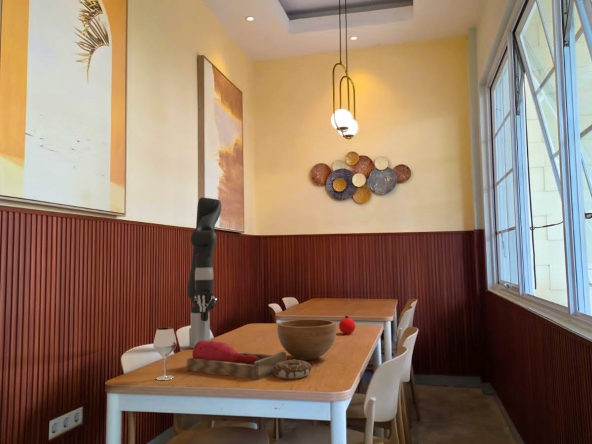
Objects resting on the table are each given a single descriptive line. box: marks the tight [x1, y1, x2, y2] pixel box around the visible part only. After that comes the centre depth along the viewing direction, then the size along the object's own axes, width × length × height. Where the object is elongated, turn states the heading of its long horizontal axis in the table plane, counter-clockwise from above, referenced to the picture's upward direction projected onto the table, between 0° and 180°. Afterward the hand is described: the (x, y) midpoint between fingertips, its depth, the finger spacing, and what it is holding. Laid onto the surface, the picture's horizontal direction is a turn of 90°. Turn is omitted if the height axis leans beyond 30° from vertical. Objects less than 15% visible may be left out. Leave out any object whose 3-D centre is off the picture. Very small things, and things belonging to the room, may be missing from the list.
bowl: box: [277, 318, 337, 361], centre depth 196 cm, size 25×25×15 cm
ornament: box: [338, 315, 356, 335], centre depth 257 cm, size 9×9×10 cm
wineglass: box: [153, 326, 178, 381], centre depth 170 cm, size 8×8×18 cm
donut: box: [273, 358, 312, 380], centre depth 170 cm, size 14×14×5 cm
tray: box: [186, 351, 287, 381], centre depth 181 cm, size 34×19×6 cm, turn 60°
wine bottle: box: [192, 340, 258, 365], centre depth 180 cm, size 10×10×30 cm
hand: (204, 320), depth 190 cm, fingers closed
